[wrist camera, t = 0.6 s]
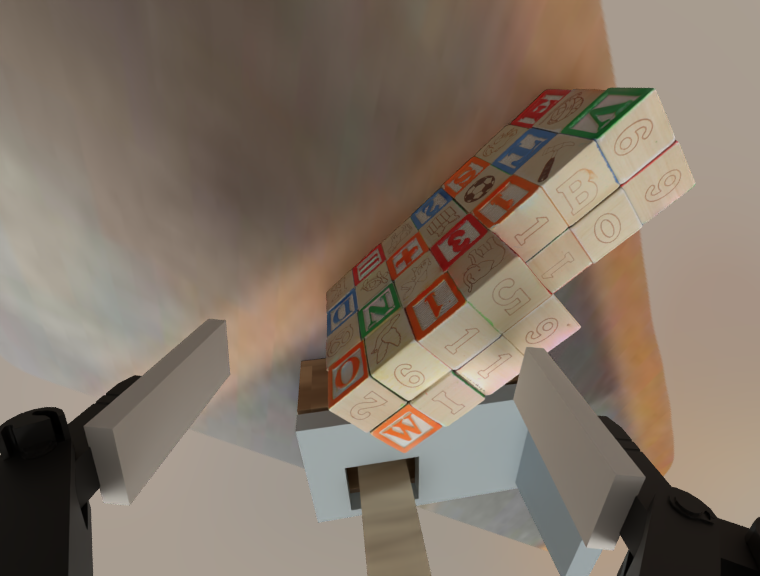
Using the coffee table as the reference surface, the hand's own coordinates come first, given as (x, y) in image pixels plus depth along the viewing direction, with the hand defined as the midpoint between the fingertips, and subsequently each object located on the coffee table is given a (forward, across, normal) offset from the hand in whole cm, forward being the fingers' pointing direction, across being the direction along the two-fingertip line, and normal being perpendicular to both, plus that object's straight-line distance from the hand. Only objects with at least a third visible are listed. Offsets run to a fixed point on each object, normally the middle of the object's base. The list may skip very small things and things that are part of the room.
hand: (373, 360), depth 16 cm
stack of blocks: (+14, +5, +4) cm, 15 cm away
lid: (+10, +5, -15) cm, 19 cm away
